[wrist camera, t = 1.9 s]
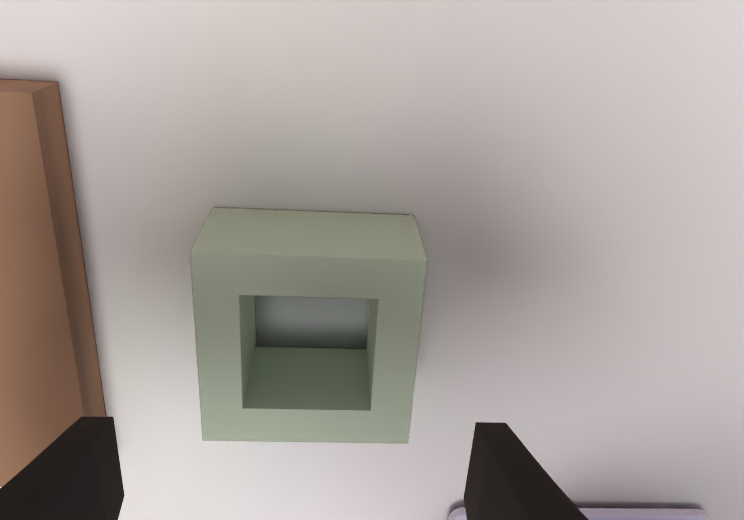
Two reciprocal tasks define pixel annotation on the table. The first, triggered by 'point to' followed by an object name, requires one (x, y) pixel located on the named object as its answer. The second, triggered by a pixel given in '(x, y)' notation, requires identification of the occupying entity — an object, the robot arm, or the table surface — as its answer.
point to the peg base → (40, 282)
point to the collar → (306, 365)
